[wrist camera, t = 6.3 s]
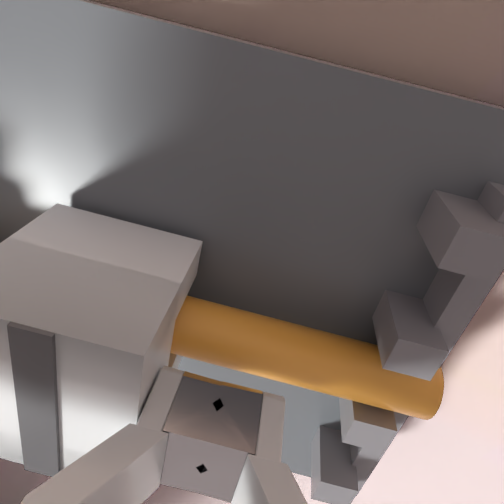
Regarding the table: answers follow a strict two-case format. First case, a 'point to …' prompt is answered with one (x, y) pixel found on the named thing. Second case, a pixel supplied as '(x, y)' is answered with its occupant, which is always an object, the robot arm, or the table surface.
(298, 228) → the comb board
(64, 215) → the sleeve
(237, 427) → the robot arm
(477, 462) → the table surface
